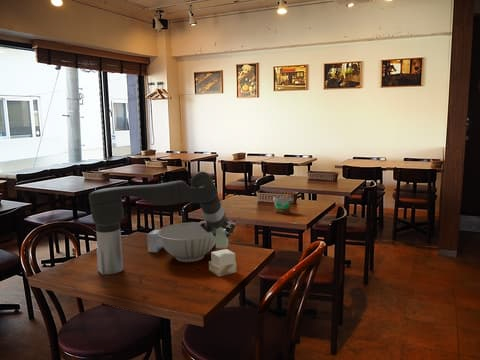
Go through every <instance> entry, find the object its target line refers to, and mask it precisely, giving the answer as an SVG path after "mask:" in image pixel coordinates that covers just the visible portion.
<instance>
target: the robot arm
mask: <svg viewBox="0 0 480 360" xmlns="http://www.w3.org/2000/svg"><path fill="white" fill-rule="evenodd" d="M190 185H191V186H190ZM190 185H188V184H187V183H186V181H184V180H175V181H174V180H173V181H168V182H162V183H156V184H155V183H154V184H142V185H140V184H139V185H127V186H125V185H124V186H113V187H107V188H106V187H105V188H100V189H97V190H94V191H91V192H90V193H89V194H88V201H89V207H90V212H91V218H92V221H93V223H95V231H96V233H95V234H96V244H97V245H96V246H97V248H96V260H97V272H99V274H101V275H102V276H103V275H105V276H106V275H115V274H118V273H120V272H123V270H124V262H123V260H124V259H123V249H122V248H123V247H122V233H121V231H122V230H121V223H120V222H121V221H123V219H124V217H125V210H124V206H123V197H134V198H138V199H141V200H143V201H147V202H149V203H151V204H155V205H159V206H169V205H174V204H178V203H196V204H197V203H198V204H199V205H200V208H201V212H202V215H203V217H204V218H203V219H200V223H201V225H200V226H201V227H202V228H203V229H204V230H206V231H207V232H212V233H213V235H214V236H215V237H216V229H221V230H222V231H223V232H225V234H226V237H227V238H228V239H229V238H230V237H231V235H232V234H233V233H234V230H235V227H236V220H234V219H233V220H232V221H229V219H228V218H227V216H226V212H225V209H224V206H223V205H222V203H221V200H220V198H219V196H218V189H217V187H216V185H215V183H214V181H213V179H212V177H211V175H210V174H209V173H208V172H206V171H198V172H195V173H194V174H193V175H192V176H191V179H190ZM207 227H208V228H207Z"/></svg>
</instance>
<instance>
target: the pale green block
mask: <svg viewBox="0 0 480 360" xmlns="http://www.w3.org/2000/svg"><path fill="white" fill-rule="evenodd" d="M228 246H229V238H227V237H226V234H225V232H223V231H222V230H221V229H216V243H215V248H217V249H227V248H228Z"/></svg>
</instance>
